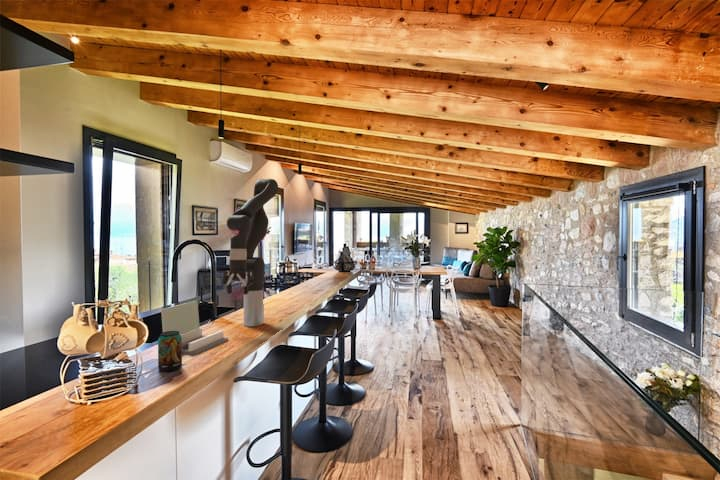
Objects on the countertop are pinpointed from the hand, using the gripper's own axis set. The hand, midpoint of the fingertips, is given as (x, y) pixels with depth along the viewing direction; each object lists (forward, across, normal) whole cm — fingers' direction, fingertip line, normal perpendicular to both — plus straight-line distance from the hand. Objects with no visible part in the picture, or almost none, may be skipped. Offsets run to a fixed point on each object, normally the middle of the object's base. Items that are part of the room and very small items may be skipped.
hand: (237, 294), depth 173 cm
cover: (+8, +10, +24) cm, 27 cm away
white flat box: (+18, +3, +23) cm, 29 cm away
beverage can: (+19, -7, +47) cm, 51 cm away
